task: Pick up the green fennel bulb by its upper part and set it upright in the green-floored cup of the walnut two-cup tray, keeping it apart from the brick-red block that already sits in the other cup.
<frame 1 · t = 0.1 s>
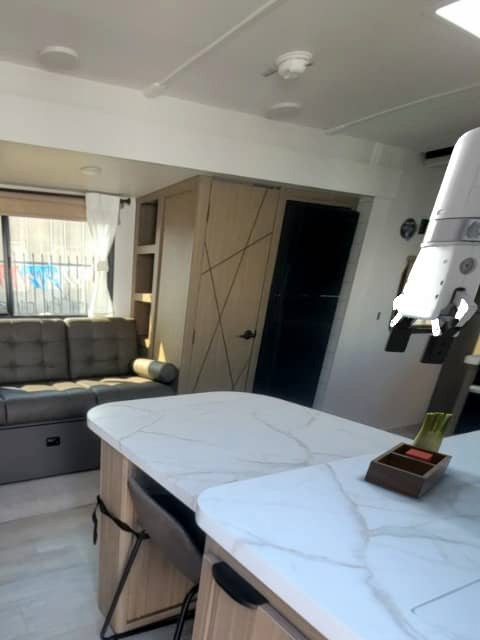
hand: (411, 357, 65), 27 cm above the table, tool pointing down, fingers open, 9 cm apart
red block: (412, 470, 90), resting on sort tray
fennel bulb: (419, 461, 96), on the table
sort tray: (404, 477, 88), on the table
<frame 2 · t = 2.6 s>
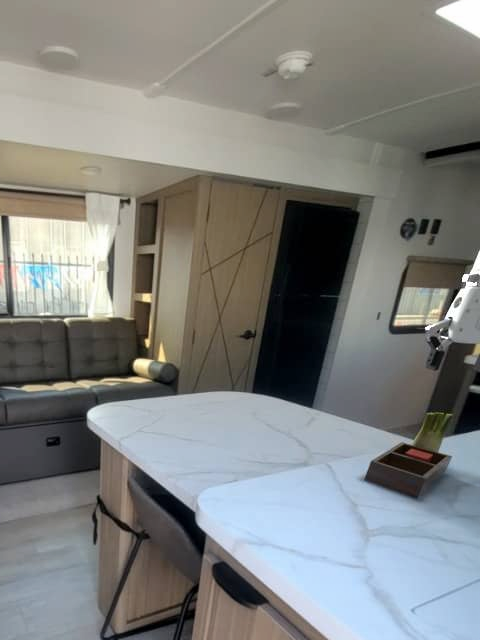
hand: (455, 370, 85), 22 cm above the table, tool pointing down, fingers open, 9 cm apart
nothing on the table moved.
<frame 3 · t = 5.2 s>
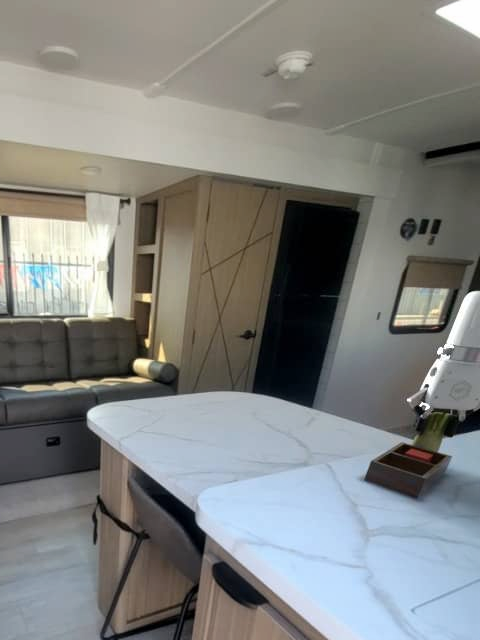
hand: (431, 433, 93), 7 cm above the table, tool pointing down, fingers closed on fennel bulb, 5 cm apart
fennel bulb: (419, 461, 96), on the table, touching gripper
everything else where it was.
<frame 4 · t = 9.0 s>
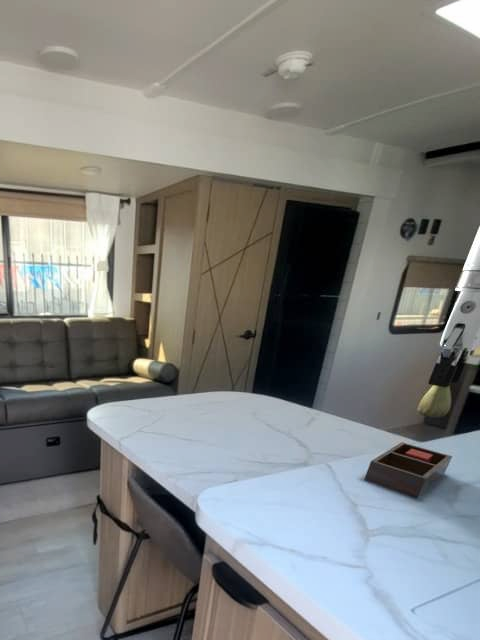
hand: (443, 382, 80), 21 cm above the table, tool pointing down, fingers closed on fennel bulb, 5 cm apart
fennel bulb: (430, 417, 82), point 14 cm above the table, touching gripper
everything else where it was.
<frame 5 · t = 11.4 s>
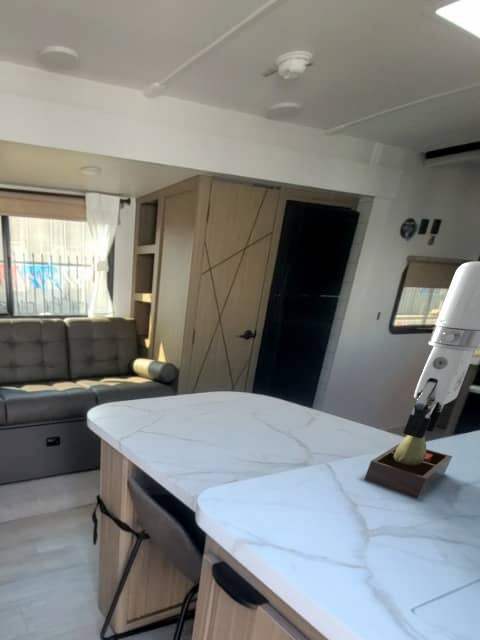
hand: (418, 431, 80), 12 cm above the table, tool pointing down, fingers closed on fennel bulb, 5 cm apart
fennel bulb: (406, 464, 83), point 4 cm above the table, touching gripper
everything else where it was.
when the fingers open (8 cm above the table, at t = 12.9 s): fennel bulb stays where it is, resting on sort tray.
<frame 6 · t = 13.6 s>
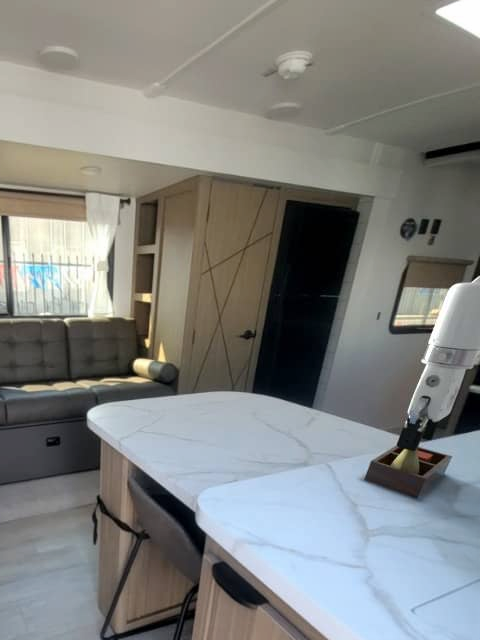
hand: (414, 443, 81), 9 cm above the table, tool pointing down, fingers open, 9 cm apart
fennel bulb: (399, 481, 85), point 1 cm above the table, touching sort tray
everything else where it was.
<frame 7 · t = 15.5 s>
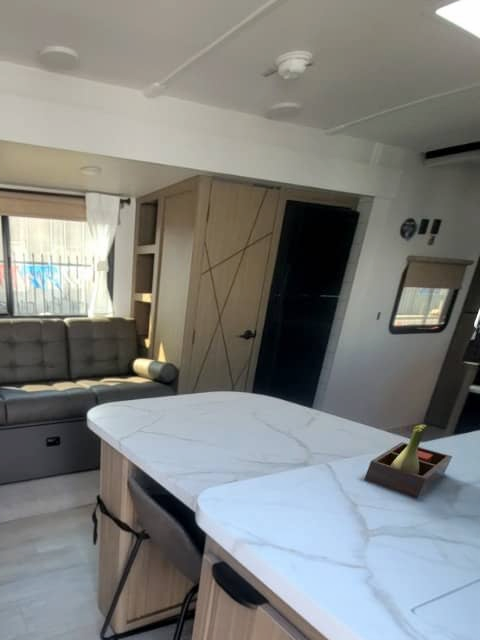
hand: (477, 359, 81), 25 cm above the table, tool pointing down, fingers open, 9 cm apart
nothing on the table moved.
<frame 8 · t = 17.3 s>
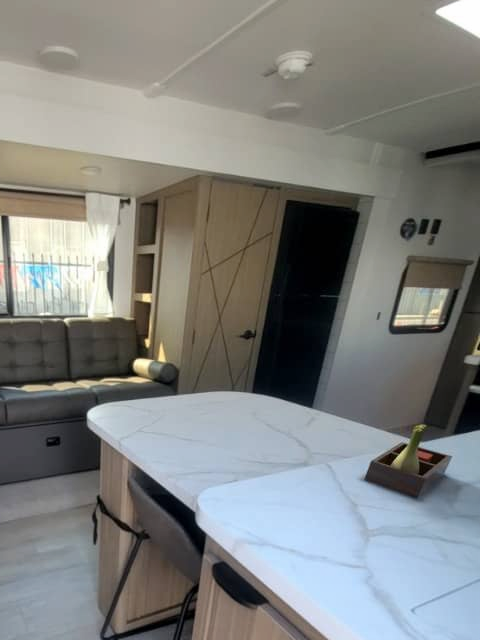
nothing on the table moved.
at the end: fennel bulb 0.3 cm from the target spot in the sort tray, point 0.5 cm above the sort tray's base; red block 0.1 cm from the target spot in the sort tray, point 0.5 cm above the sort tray's base; fennel bulb tilted 0° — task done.
